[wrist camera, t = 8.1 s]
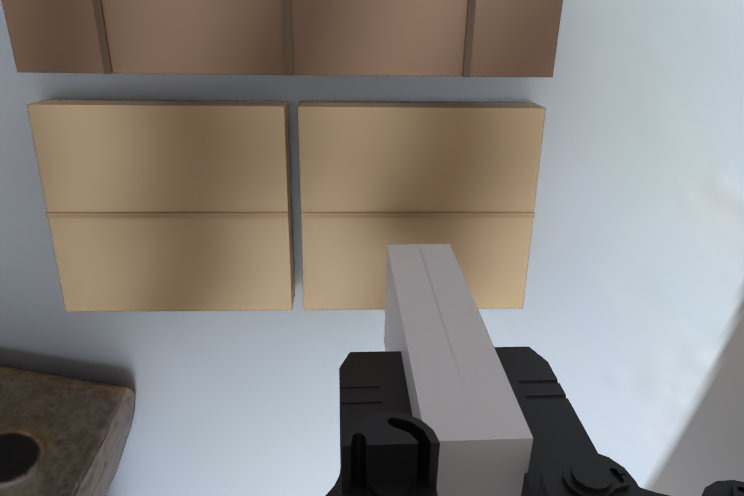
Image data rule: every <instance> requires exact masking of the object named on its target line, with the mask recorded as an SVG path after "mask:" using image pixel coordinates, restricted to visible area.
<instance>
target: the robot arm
mask: <svg viewBox="0 0 744 496" xmlns="http://www.w3.org/2000/svg"><path fill="white" fill-rule="evenodd" d="M384 343H385V350H386V352H350V353H349V354H348V356H347V358H346V359H345V361H344V362H343V364H342V365H341V367H340V369H339V373H340V458H341V469H340V475H339V478H338V480H337V482H336V484H335V486H334V487H333V488H332V489H331V490H330V491H329V492H328V494H327V495H326V496H668V495H664V494H659V493H655V492H652V491H649V490H646V489H642V488H640V487H639V486H638V485H637V483H636V481H635V480H634V479H633V478H632V476H631V475H630V474H629V473H628V472H627V471H626V469H625V468H624V467H622V466H621V465H619V464H618V463H616V462H615V461H613V460H612V459H610V458H609V457H606V456H603V455H601V454H598V453H597V451H596V449H595V447H594V445H593V443H592V442H591V440H590V438H589V436H588V434H587V433H586V431H585V429H584V427H583V425H582V423H581V422H580V420H579V418H578V416H577V414H576V413H575V411H574V409H573V407H572V405H571V403H570V402H569V400H568V399H566V394H565V393H564V391H563V389H562V387H561V385H560V383H558V382H557V378H556V376H555V374H554V373H553V371H552V369H551V367H550V365H549V363H548V362H547V361H546V360H545V359H543V358H542V357H541V356H540V355H538V354H537V353H536V352H535V351H534V350H532V349H531V348H530V347H494V346H493V343H492V341H491V339H490V336H489V334H488V332H487V329H486V327H485V325H484V322H483V320H482V318H481V315H480V313H479V311H478V308H477V306H476V304H475V301H474V299H473V297H472V294H471V292H470V290H469V287H468V285H467V283H466V280H465V278H464V276H463V273H462V271H461V269H460V266H459V264H458V262H457V260H456V257H455V255H454V253H453V250H452V248H451V246H450V244H397V245H387V264H386V300H385V337H384ZM702 496H744V482H740V481H736V480H729V481H716V482H714V483H713V484H711V485H709V486H707V487H706V488H705V489H704V492H703V494H702Z"/></svg>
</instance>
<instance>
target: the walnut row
mask: <svg viewBox="0 0 744 496" xmlns="http://www.w3.org/2000/svg"><path fill="white" fill-rule="evenodd" d="M562 2H563V0H2V4H3V9H4V14H5V18H6V23H7V27H8V32H9V36H10V41H11V46H12V50H13V55H14V59H15V64H16V68H17V72H43V73H104V74H112V73H153V74H262V75H372V76H463V77H470V76H481V77H553V69H554V62H555V54H556V47H557V39H558V32H559V24H560V17H561V9H562Z"/></svg>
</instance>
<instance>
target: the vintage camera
mask: <svg viewBox="0 0 744 496" xmlns="http://www.w3.org/2000/svg"><path fill="white" fill-rule="evenodd" d="M134 408H135V392H134V391H132V390H131V389H129V388H128V387H123V386H117V385H111V384H105V383H99V382H93V381H87V380H81V379H75V378H70V377H64V376H58V375H52V374H46V373H40V372H34V371H28V370H23V369H17V368H11V367H5V366H0V496H105V494H106V492H107V490H108V488H109V486H110V484H111V482H112V480H113V477H114V475H115V473H116V471H117V468H118V465H119V462H120V459H121V456H122V453H123V450H124V446H125V443H126V440H127V437H128V434H129V431H130V428H131V424H132V419H133V413H134Z"/></svg>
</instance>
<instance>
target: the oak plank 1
mask: <svg viewBox="0 0 744 496" xmlns="http://www.w3.org/2000/svg"><path fill="white" fill-rule="evenodd" d="M27 107H28V113H29V118H30V123H31V129H32V134H33V139H34V145H35V150H36V155H37V161H38V166H39V171H40V177H41V182H42V187H43V193H44V198H45V203H46V209H47V213H46V216H47V218H48V219H49V225H50V230H51V235H52V241H53V246H54V251H55V257H56V262H57V267H58V273H59V278H60V283H61V289H62V294H63V299H64V305H65V310H66V312H93V311H248V310H292V306H293V301H294V296H295V288H294V261H293V234H292V206H291V179H290V152H289V125H288V101H193V100H58V99H47V100H43V101H39V102H35V103H32V104H28V105H27Z"/></svg>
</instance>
